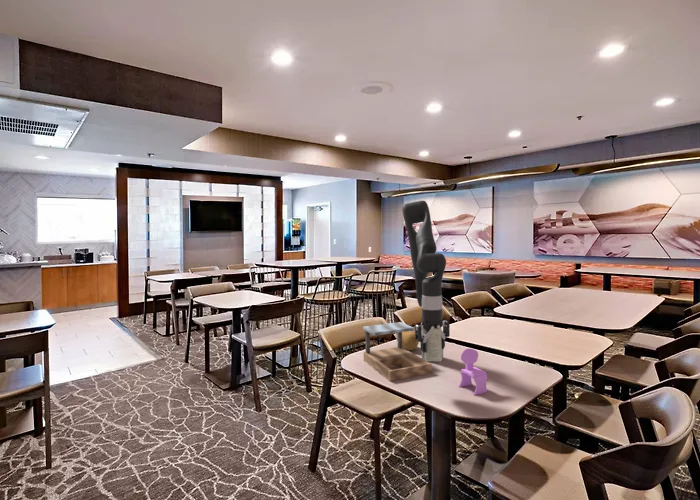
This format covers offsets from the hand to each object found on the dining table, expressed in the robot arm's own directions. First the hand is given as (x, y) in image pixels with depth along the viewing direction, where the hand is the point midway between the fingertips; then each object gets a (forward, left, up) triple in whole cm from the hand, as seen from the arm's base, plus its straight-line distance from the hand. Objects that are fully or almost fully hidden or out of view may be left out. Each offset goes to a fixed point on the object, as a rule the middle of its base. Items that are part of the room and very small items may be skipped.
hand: (432, 350), depth 139 cm
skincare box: (0, 0, -4) cm, 4 cm away
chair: (-14, +5, -16) cm, 22 cm away
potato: (-17, -48, -16) cm, 54 cm away
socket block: (+1, -28, -16) cm, 32 cm away
